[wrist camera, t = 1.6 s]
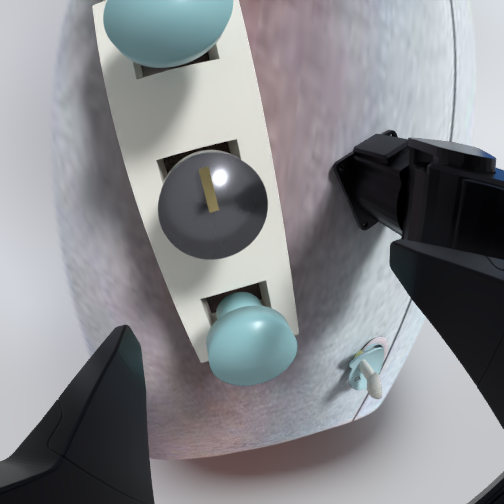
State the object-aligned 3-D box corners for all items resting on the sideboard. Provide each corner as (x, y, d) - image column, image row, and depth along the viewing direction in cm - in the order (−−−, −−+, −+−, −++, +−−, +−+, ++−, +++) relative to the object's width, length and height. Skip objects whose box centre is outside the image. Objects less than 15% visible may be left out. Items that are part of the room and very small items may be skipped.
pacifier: (387, 325, 31) (344, 346, 30) (418, 359, 25) (372, 385, 25) (382, 363, 34) (344, 382, 34) (407, 394, 29) (366, 417, 28)
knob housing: (283, 304, 25) (299, 334, 22) (196, 329, 24) (201, 363, 21) (221, -3, 14) (231, -28, 10) (107, 24, 13) (92, 5, 9)
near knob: (227, 65, 13) (244, 45, 9) (132, 89, 13) (112, 78, 9) (210, -11, 11) (221, -49, 7) (117, 12, 10) (98, -21, 6)
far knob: (279, 326, 22) (300, 370, 18) (213, 346, 21) (222, 393, 17) (269, 269, 19) (292, 310, 15) (191, 291, 19) (197, 338, 15)
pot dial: (252, 212, 17) (277, 246, 13) (177, 233, 17) (176, 274, 12) (236, 136, 15) (258, 142, 11) (154, 157, 15) (143, 173, 10)
